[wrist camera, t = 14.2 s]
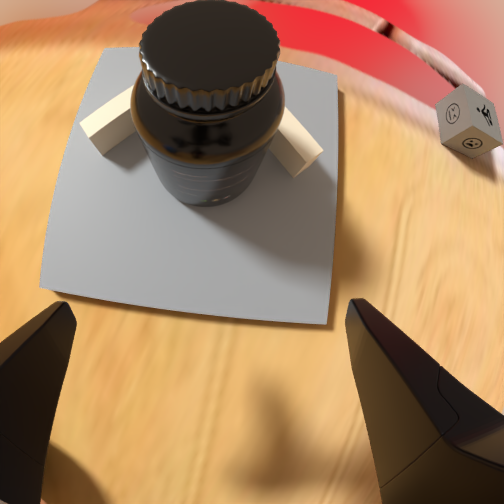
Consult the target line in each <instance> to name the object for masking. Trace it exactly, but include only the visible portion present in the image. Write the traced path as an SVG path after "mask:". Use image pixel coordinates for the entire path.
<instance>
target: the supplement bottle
mask: <svg viewBox="0 0 504 504" xmlns="http://www.w3.org/2000/svg"><path fill="white" fill-rule="evenodd" d="M279 45H280V40H279V38H278V37H277V31H275V30H274V28H273V25H272V23H270V22H269V21H267V20H266V17H265V16H263V15H261V14H259V13H258V12H257V11H256V10H254V9H250V8H249V7H248V6H246V5H241V4H238V3H236V2H229V1H226V0H197V1H194V2H186V3H184V4H182V5H179V6H175V7H174V8H172V9H170V10H168V11H165V12H164V13H163V14H162V15H161V16H159V17H157V18H155V19H154V21H153V22H152V23H151V24H149V25H148V27H147V30H146V31H145V32H144V33H143V34H142V40H141V41H140V43H139V49H140V51H139V59H140V63H141V66H142V70H141V72H140V73H139V75H138V77H137V79H136V81H135V83H134V86H133V89H132V93H131V100H130V111H131V117H132V121H133V124H134V127H135V129H136V132H137V134H138V136H139V138H140V140H141V143H142V145H143V147H144V149H145V151H146V153H147V155H148V157H149V159H150V162H151V164H152V166H153V168H154V170H155V172H156V174H157V176H158V178H159V180H160V182H161V183H162V185H163V186H164V187H165V189H166V190H167V191H168V192H169V193H170V194H171V195H172V196H174V197H175V198H176V199H178V200H180V201H182V202H184V203H186V204H189V205H192V206H197V207H214V206H219V205H222V204H225V203H228V202H230V201H232V200H234V199H235V198H237V197H238V196H239V195H241V194H242V193H243V192H244V191H245V190H246V189H247V187H248V186H249V185H250V184H251V182H252V180H253V178H254V177H255V175H256V173H257V171H258V169H259V167H260V165H261V163H262V160H263V158H264V156H265V154H266V152H267V150H268V148H269V146H270V144H271V142H272V140H273V138H274V136H275V134H276V132H277V129H278V127H279V125H280V123H281V120H282V117H283V114H284V109H285V92H284V87H283V84H282V81H281V79H280V76H279V74H278V72H277V71H276V64H277V61H278V58H279V55H280V48H279Z"/></svg>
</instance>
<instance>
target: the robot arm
mask: <svg viewBox="0 0 504 504" xmlns="http://www.w3.org/2000/svg"><path fill="white" fill-rule="evenodd" d="M76 326H77V321H76V318H75V316H74V314H73V312H72V310H71V308H70V306H69V304H68V303H67V302H65V301H57V302H55V303H53V304H52V305H50V306H49V307H48V308H46V309H45V310H43V311H42V312H41V313H39V314H38V315H37V316H35V317H34V318H32V319H31V320H30V321H28V322H27V323H26V324H24V325H23V326H22V327H20V328H19V329H18V330H16V331H15V332H14V333H12V334H11V335H10V336H8V337H7V338H6V339H5V340H3V341H2V342H1V343H0V504H40V501H41V492H42V484H43V476H44V469H45V468H44V467H45V462H46V456H47V451H48V445H49V440H50V435H51V430H52V426H53V421H54V417H55V412H56V408H57V404H58V400H59V396H60V392H61V389H62V385H63V381H64V378H65V374H66V371H67V367H68V363H69V359H70V354H71V349H72V344H73V340H74V335H75V331H76ZM345 327H346V333H347V339H348V346H349V352H350V359H351V366H352V371H353V375H354V379H355V383H356V387H357V390H358V394H359V398H360V402H361V406H362V410H363V414H364V418H365V423H366V427H367V431H368V435H369V440H370V444H371V449H372V453H373V458H374V463H375V467H376V472H377V477H378V482H379V487H380V488H381V489H380V493H381V499H382V504H504V415H502V414H501V413H500V412H498V411H497V410H496V409H494V408H493V407H492V406H490V405H489V404H488V403H486V402H485V401H484V400H482V399H481V398H480V397H478V396H477V395H476V394H474V393H473V392H472V391H470V390H469V389H468V388H467V387H465V386H464V385H463V384H462V383H460V382H459V381H458V380H457V379H456V378H455V377H453V376H452V375H451V374H450V373H449V372H448V371H447V370H446V369H444V368H443V367H442V366H440V364H439V363H438V362H437V361H435V360H434V359H433V358H432V357H431V356H430V355H429V354H428V353H427V352H425V351H424V350H423V349H422V348H421V347H420V346H419V345H417V344H416V343H415V342H414V341H413V340H412V339H411V338H410V337H408V336H407V335H406V334H405V333H404V332H403V331H401V330H400V329H399V328H398V327H397V326H396V325H395V324H393V323H392V322H391V321H390V320H389V319H388V318H386V317H385V316H384V315H383V314H382V313H381V312H379V311H378V310H377V309H376V308H375V307H374V306H372V305H371V304H370V303H369V302H368V301H366V300H365V299H364V298H355V299H351V300H350V301H349V305H348V309H347V314H346V319H345Z"/></svg>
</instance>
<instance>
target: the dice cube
mask: <svg viewBox="0 0 504 504" xmlns="http://www.w3.org/2000/svg"><path fill="white" fill-rule="evenodd" d="M435 107H436V111H437V117H438V123H439V130H440V138H441V144H443V145H445V146H447V147H449V148H451V149H454V150H456V151H458V152H460V153H462V154H464V155H466V156H468V157H470V158H472V159H473V158H475V157H477V156H479V155H481V154H483V153H485V152H488V151H490V150H492V149H494V148H496V147H498V146H500V145H502V144H503V142H502V137H501V132H500V127H499V123H498V119H497V115H496V111H495V107H494V104H493V103H492V102H491V101H489V100H488V99H486V98H485V97H483V96H482V95H480V94H479V93H477V92H476V91H474V90H472V89H471V88H469V87H468V86H466V85H464V84H461V85H460V86H459V87H457V88H456V89H455V90H454V91H452V92H451V93H450V94H448V95H447V96H446V97H444V98H443V99H442V100H440V101H439V102H438V103H437V104H435Z"/></svg>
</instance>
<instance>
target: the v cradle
mask: <svg viewBox="0 0 504 504" xmlns="http://www.w3.org/2000/svg"><path fill="white" fill-rule="evenodd" d="M139 51H140V49H139V47H122V48H105V49H104V51H103V53H102V55H101V57H100V59H99V61H98V64H97V66H96V68H95V70H94V72H93V75H92V77H91V79H90V82H89V84H88V87H87V89H86V91H85V94H84V97H83V99H82V102H81V104H80V107H79V110H78V112H77V115H76V118H75V121H74V124H73V127H72V130H71V133H70V136H69V139H68V142H67V146H66V149H65V152H64V156H63V159H62V163H61V167H60V170H59V174H58V178H57V182H56V186H55V191H54V195H53V200H52V204H51V209H50V214H49V219H48V225H47V231H46V237H45V243H44V250H43V258H42V266H41V275H40V286H39V288H44V289H49V290H53V291H58V292H63V293H69V294H74V295H79V296H85V297H90V298H96V299H101V300H107V301H113V302H119V303H126V304H132V305H139V306H145V307H152V308H159V309H166V310H174V311H182V312H190V313H198V314H207V315H215V316H225V317H235V318H245V319H256V320H267V321H280V322H294V323H309V324H327V316H328V307H329V298H330V288H331V277H332V266H333V253H334V240H335V224H336V205H337V178H338V88H337V75H334V74H331V73H327V72H323V71H319V70H316V69H312V68H308V67H303V66H299V65H295V64H290V63H285V62H281V61H277V64H276V71H277V72H278V74H279V76H280V79H281V81H282V84H283V87H284V92H285V109H284V114H283V117H282V120H281V123H280V125H279V127H278V129H277V132H276V134H275V136H274V138H273V140H272V142H271V144H270V146H269V148H268V150H267V152H266V154H265V156H264V158H263V160H262V163H261V165H260V167H259V169H258V171H257V173H256V175H255V177H254V178H253V180H252V182H251V184H250V185H249V186H248V187H247V189H246V190H245V191H244V192H243V193H242V194H241V195H239V196H238V197H237V198H235V199H234V200H232V201H230V202H228V203H225V204H222V205H219V206H214V207H197V206H192V205H189V204H186V203H184V202H182V201H180V200H178V199H176V198H175V197H174V196H172V195H171V194H170V193H169V192H168V191H167V190H166V189H165V187H164V186H163V185H162V183H161V182H160V180H159V178H158V176H157V174H156V172H155V170H154V168H153V166H152V164H151V162H150V159H149V157H148V155H147V153H146V151H145V149H144V147H143V145H142V143H141V140H140V138H139V136H138V134H137V132H136V129H135V127H134V124H133V121H132V117H131V111H130V100H131V93H132V89H133V86H134V83H135V81H136V79H137V77H138V75H139V73H140V72H141V70H142V66H141V63H140V59H139Z"/></svg>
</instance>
